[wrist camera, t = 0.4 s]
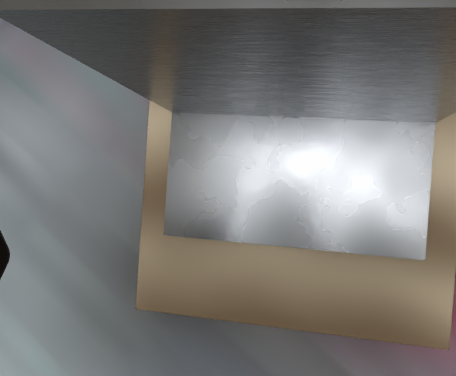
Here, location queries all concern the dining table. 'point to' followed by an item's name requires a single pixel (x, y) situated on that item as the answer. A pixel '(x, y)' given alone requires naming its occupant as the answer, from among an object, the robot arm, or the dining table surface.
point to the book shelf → (302, 267)
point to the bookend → (279, 109)
